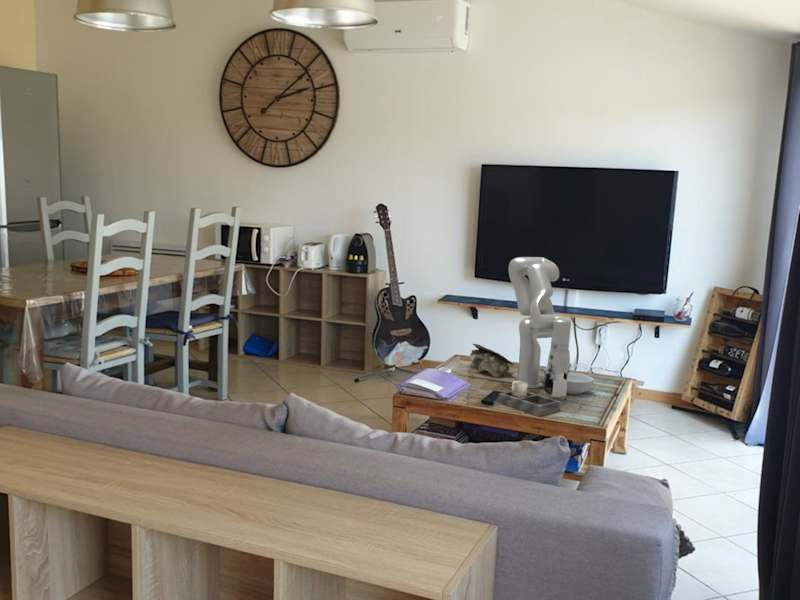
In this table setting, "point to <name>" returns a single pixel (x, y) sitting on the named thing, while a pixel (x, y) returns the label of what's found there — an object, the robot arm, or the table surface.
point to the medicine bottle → (557, 386)
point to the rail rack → (528, 400)
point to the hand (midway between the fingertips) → (556, 385)
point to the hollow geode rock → (489, 361)
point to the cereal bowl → (578, 383)
